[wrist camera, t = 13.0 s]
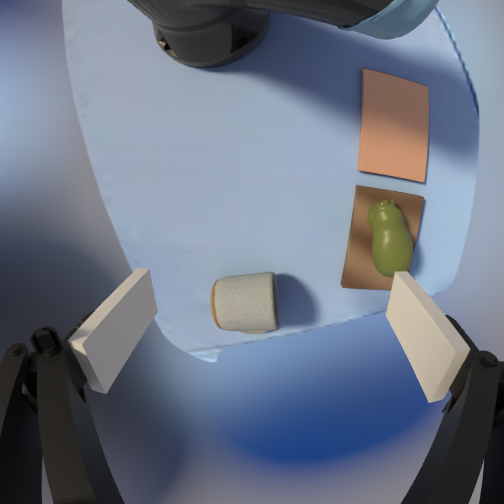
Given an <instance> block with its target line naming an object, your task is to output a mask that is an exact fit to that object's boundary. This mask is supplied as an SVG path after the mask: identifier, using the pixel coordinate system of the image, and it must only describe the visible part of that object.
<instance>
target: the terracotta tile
mask: <svg viewBox="0 0 504 504" xmlns="http://www.w3.org/2000/svg"><path fill="white" fill-rule="evenodd" d="M428 130H429V87H427V86H424V85H421V84H418V83H415V82H412V81H409V80H406V79H402V78H399V77H396V76H392V75H389V74H385V73H381V72H377V71H373V70H369V69H362V109H361V131H360V147H359V160H358V170H360V171H366V172H372V173H378V174H384V175H389V176H395V177H400V178H405V179H410V180H415V181H420V182H424V181H425V172H426V162H427V149H428Z"/></svg>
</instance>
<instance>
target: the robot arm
mask: <svg viewBox="0 0 504 504" xmlns="http://www.w3.org/2000/svg"><path fill="white" fill-rule="evenodd" d="M128 1H129V2H130V3H131V4H133V5H134V6H135V7H136V8H137V9H139V10H140V11H141V12H142V13H143V14H144V15H146V16H147V17H148V18H149V19H150V20H151V21H152V23H153V28H154V33H155V37H156V40H157V42H158V44H159V46H160V47H161V48H162V50H163V51H164V52H165V53H167V54H168V55H169V56H170V57H171V58H173V59H174V60H176V61H177V62H179V63H182V64H184V65H187V66H192V67H202V68H205V67H216V66H221V65H225V64H228V63H231V62H233V61H236V60H238V59H240V58H242V57H243V56H245V55H246V54H248V53H249V52H251V51H252V50H253V49H254V48H255V47H256V46H257V45H258V44H259V43H260V42H261V40H262V39H263V37H264V35H265V33H266V31H267V28H268V23H269V14H268V11H271V12H277V13H283V14H288V15H293V16H298V17H303V18H307V19H311V20H315V21H319V22H323V23H327V24H330V25H334V26H337V27H338V28H339V29H341V30H346V31H351V30H352V31H356V32H359V33H362V34H366V35H369V36H372V37H375V38H378V39H393V38H396V37H401V36H404V35H406V34H408V33H409V32H411V31H412V30H414V29H415V28H416V27H418V26H419V25H420V24H421V23H422V22H423V21H424V20H425V19H426V18H427V17H428V15H429V14H430V13H431V12H432V10H433V9H434V7H435V6H436V4H437V3H438V1H439V0H128ZM157 312H158V310H157V306H156V301H155V296H154V291H153V286H152V281H151V276H150V270H149V269H138V268H137V269H136V270H135V271H134V272H133V273H132V274H131V275H130V276H129V277H128V278H127V279H126V280H125V281H124V282H123V283H122V284H121V285H120V286H119V287H118V288H117V289H116V290H115V291H114V292H113V293H112V294H111V295H110V296H109V297H108V298H107V299H106V300H105V301H104V302H103V303H102V304H101V305H100V306H99V307H98V308H97V310H93V311H92V312H90V313H88V314H87V315H85V316H84V318H83V319H82V320H81V321H80V323H78V324H77V325H76V326H75V328H73V329H72V330H71V331H70V332H69V333H68V335H67V336H66V337H65V338H64V339H63V340H62V341H61V340H60V338H59V336H58V334H57V331H56V329H55V328H54V327H52V326H44V327H41V328H38V329H37V330H36V331H34V332H33V333H32V334H31V336H30V341H31V343H32V345H33V347H34V349H35V351H36V352H29V350H28V348H27V346H26V344H24V343H20V342H19V343H15V344H13V345H11V346H10V347H9V348H8V349H7V351H6V352H5V354H4V357H3V359H2V361H1V363H0V504H42V488H41V487H42V458H44V464H45V469H46V473H47V478H48V483H49V487H50V491H51V495H52V499H53V503H54V504H125V503H124V501H123V499H122V497H121V495H120V493H119V490H118V488H117V486H116V483H115V481H114V478H113V476H112V474H111V471H110V468H109V466H108V463H107V460H106V458H105V455H104V452H103V449H102V446H101V444H100V440H99V437H98V434H97V430H96V427H95V424H94V420H93V417H92V413H91V409H90V405H89V401H88V396H87V392H86V390H85V388H84V385H85V383H86V382H87V381H88V383H89V384H90V386H91V388H92V390H95V391H98V392H101V393H105V394H106V393H107V392H108V390H109V388H110V387H111V385H112V383H113V382H114V380H115V378H116V377H117V375H118V374H119V372H120V370H121V368H122V367H123V365H124V364H125V362H126V361H127V359H128V357H129V356H130V354H131V353H132V351H133V349H134V348H135V346H136V345H137V343H138V342H139V340H140V338H141V337H142V335H143V334H144V332H145V331H146V329H147V328H148V326H149V325H150V323H151V321H152V320H153V318H154V317H155V315H156V314H157ZM386 317H387V319H388V321H389V323H390V325H391V326H392V328H393V330H394V332H395V334H396V336H397V338H398V339H399V342H400V343H401V345H402V347H403V349H404V351H405V353H406V355H407V357H408V359H409V361H410V363H411V365H412V367H413V369H414V372H415V374H416V375H417V378H418V380H419V382H420V384H421V386H422V388H423V391H424V393H425V395H426V397H427V400H428V402H433V401H437V400H441V399H443V398H444V397H445V395H446V393H447V391H448V390H450V392H451V394H452V396H451V398H450V400H449V401H448V403H447V404H446V406H445V407H444V409H443V410H442V413H443V412H444V411H445V413H444V416H443V419H442V422H441V424H440V427H439V430H438V432H437V434H436V437H435V440H434V441H433V444H432V446H431V448H430V451H429V453H428V455H427V457H426V459H425V461H424V463H423V465H422V467H421V469H420V471H419V473H418V475H417V477H416V479H415V480H414V482H413V484H412V486H411V487H410V489H409V491H408V492H407V494H406V496H405V497H404V499H403V501H402V502H401V504H468V503H469V501H470V498H471V496H472V493H473V491H474V488H475V485H476V483H477V480H478V477H479V474H480V471H481V467H482V464H483V461H484V470H483V481H482V488H481V495H480V501H479V504H504V362H500V361H498V359H497V357H496V356H495V355H493V354H492V353H490V352H488V351H479V350H478V348H477V347H476V346H475V344H474V343H473V342H472V340H471V339H470V338H469V336H468V335H467V334H465V331H464V330H463V329H461V326H460V325H459V324H458V323H457V321H456V320H454V319H453V318H452V317H450V316H449V315H444V314H443V312H442V311H441V310H440V309H439V308H438V306H437V305H436V304H435V303H434V302H433V300H432V299H431V298H430V297H429V296H428V294H427V293H426V292H425V291H424V290H423V289H422V288H421V286H420V285H419V284H418V283H417V282H416V281H415V280H414V278H413V277H412V276H411V275H410V274H409V273H408V272H407V271H401V272H395V275H394V280H393V285H392V289H391V294H390V298H389V303H388V307H387V311H386ZM22 386H23V387H24V389H25V392H24V394H23V393H22Z"/></svg>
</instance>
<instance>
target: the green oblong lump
mask: <svg viewBox="0 0 504 504" xmlns="http://www.w3.org/2000/svg"><path fill="white" fill-rule="evenodd" d="M368 222H369V224H370V225H371V227H372V233H373V240H372V257H373V262H374V265H375V267H376V269H377V270H378V271H379V273H381V274H382V275H384V276H386V277H394V275H395V272H401V271H408V270H409V268H410V266H411V264H412V259H413V245H412V240H411V237H410V235H409V233H408V231H407V230H406V228H405V225H404V219H403V215H402V213H401V211H400V210H399V209H398V208H396V206H395V201H394V199H391V200H389V201H387V200H384V201H382V202H380V203H374V204H373V206H371V207H370V210H369V214H368Z"/></svg>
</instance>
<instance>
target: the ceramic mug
mask: <svg viewBox="0 0 504 504" xmlns="http://www.w3.org/2000/svg"><path fill="white" fill-rule="evenodd" d="M211 311H212V316H213V319H214V322H215V324H216V325H217V326H218V327H219V328H220V329H223V330H228V331H240V332H243V333H247V334H260V333H265V332H267V331H272V330H278V328H279V300H278V289H277V282H276V277H275V273H274V272H266V273H257V274H249V275H241V276H231V277H225V278H222V279H219V280H217V281H216V282H215V283H214V285H213V287H212V290H211Z"/></svg>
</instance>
